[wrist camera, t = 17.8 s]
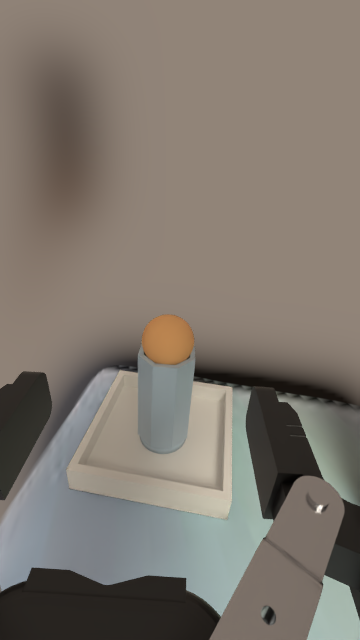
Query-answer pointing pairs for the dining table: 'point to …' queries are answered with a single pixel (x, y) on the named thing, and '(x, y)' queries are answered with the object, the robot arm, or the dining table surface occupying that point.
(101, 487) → the tray
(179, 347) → the ball
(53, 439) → the dining table surface
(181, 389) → the cup
